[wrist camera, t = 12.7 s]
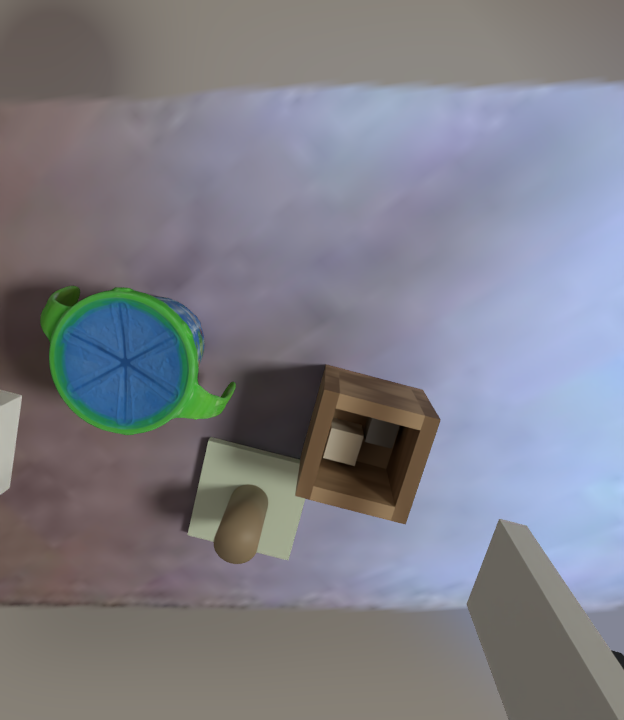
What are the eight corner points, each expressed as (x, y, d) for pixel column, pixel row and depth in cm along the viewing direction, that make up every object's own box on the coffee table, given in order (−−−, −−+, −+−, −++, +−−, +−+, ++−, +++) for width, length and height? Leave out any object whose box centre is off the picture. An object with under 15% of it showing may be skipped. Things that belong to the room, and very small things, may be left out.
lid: (190, 528, 51) (164, 581, 43) (211, 435, 49) (187, 473, 41) (289, 553, 51) (281, 610, 43) (314, 462, 49) (310, 504, 41)
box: (301, 455, 49) (294, 495, 41) (325, 364, 47) (324, 389, 39) (394, 479, 49) (405, 524, 41) (422, 389, 47) (440, 419, 39)
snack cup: (270, 347, 47) (252, 376, 37) (201, 433, 49) (167, 483, 39) (126, 235, 45) (67, 234, 35) (62, 330, 47) (-11, 354, 37)
